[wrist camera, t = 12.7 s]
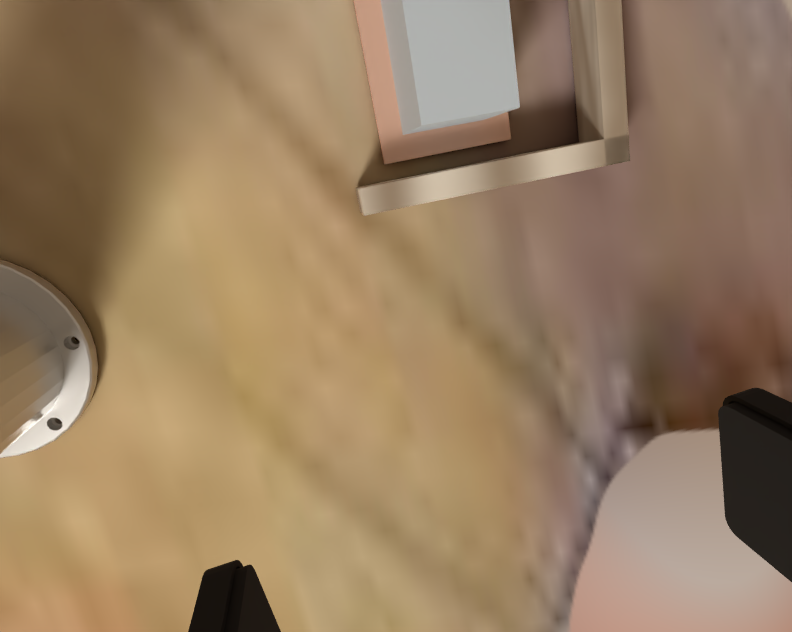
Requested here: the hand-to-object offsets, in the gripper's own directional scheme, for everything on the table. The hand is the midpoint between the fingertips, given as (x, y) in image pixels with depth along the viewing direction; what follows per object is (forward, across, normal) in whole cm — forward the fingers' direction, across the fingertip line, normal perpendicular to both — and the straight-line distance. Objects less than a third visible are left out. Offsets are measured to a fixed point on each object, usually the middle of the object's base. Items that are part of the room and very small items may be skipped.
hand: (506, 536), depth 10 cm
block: (+24, -7, -13) cm, 28 cm away
